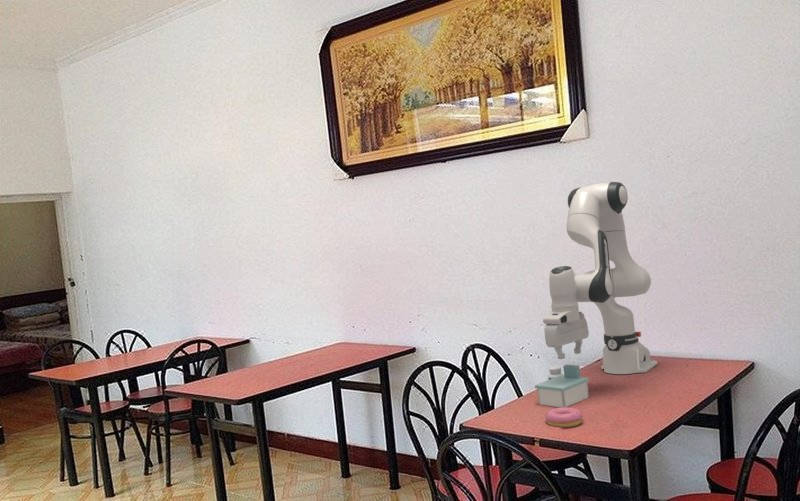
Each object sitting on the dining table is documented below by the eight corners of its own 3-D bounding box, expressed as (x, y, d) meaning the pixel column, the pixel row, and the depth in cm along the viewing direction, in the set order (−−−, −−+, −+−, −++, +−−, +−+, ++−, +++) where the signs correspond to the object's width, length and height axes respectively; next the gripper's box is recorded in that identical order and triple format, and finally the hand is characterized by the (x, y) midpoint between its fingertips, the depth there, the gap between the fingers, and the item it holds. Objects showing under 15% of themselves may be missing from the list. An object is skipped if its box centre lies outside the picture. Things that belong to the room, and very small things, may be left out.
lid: (561, 377, 243) (560, 363, 243) (589, 380, 235) (587, 365, 235) (535, 388, 233) (533, 373, 233) (563, 391, 225) (561, 376, 225)
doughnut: (560, 432, 205) (559, 417, 205) (538, 423, 215) (537, 410, 215) (591, 423, 209) (589, 410, 209) (568, 416, 219) (566, 403, 219)
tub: (563, 395, 243) (562, 378, 243) (589, 398, 235) (587, 380, 235) (539, 406, 234) (537, 388, 233) (564, 409, 226) (562, 391, 226)
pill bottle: (565, 394, 244) (562, 369, 244) (550, 395, 245) (547, 370, 245) (565, 390, 249) (562, 365, 249) (549, 391, 250) (547, 366, 250)
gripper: (575, 310, 247) (579, 350, 247) (539, 319, 233) (544, 361, 233) (591, 310, 242) (595, 350, 242) (555, 319, 228) (560, 362, 229)
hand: (569, 356), depth 238 cm, fingers open, 8 cm apart
